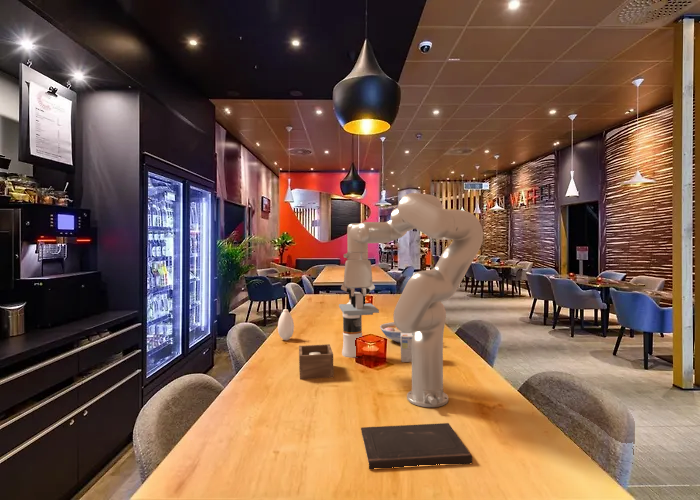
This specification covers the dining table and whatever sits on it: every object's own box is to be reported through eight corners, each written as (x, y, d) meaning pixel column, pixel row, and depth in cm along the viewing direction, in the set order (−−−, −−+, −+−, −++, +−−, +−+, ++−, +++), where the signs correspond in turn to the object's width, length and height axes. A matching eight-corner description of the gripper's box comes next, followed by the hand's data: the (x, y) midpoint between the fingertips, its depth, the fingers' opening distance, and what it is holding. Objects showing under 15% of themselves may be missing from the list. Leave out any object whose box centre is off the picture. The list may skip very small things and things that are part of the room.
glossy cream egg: (321, 370, 149) (321, 354, 148) (309, 371, 148) (309, 355, 148) (320, 366, 153) (320, 351, 153) (309, 367, 152) (308, 352, 152)
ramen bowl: (372, 337, 202) (372, 321, 202) (412, 334, 209) (412, 318, 209) (391, 350, 178) (391, 332, 178) (436, 345, 185) (436, 328, 185)
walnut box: (333, 379, 141) (333, 354, 141) (299, 381, 140) (299, 356, 139) (330, 367, 155) (329, 344, 155) (299, 368, 154) (298, 345, 153)
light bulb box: (426, 358, 166) (425, 332, 166) (427, 362, 159) (427, 336, 159) (400, 357, 167) (400, 332, 167) (400, 362, 160) (400, 336, 160)
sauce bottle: (297, 339, 200) (296, 303, 200) (286, 342, 194) (286, 306, 193) (285, 337, 205) (284, 302, 204) (274, 340, 198) (274, 304, 198)
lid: (378, 315, 140) (378, 295, 140) (343, 316, 138) (343, 296, 138) (370, 308, 155) (370, 290, 154) (339, 309, 153) (338, 291, 153)
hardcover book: (360, 436, 101) (360, 427, 101) (448, 431, 103) (448, 422, 103) (369, 472, 85) (368, 462, 85) (472, 466, 87) (472, 456, 87)
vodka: (347, 352, 176) (346, 285, 175) (366, 354, 172) (365, 285, 171) (338, 358, 167) (337, 287, 167) (358, 360, 164) (357, 288, 163)
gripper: (337, 257, 141) (337, 308, 141) (381, 257, 143) (381, 307, 144) (335, 256, 148) (335, 305, 149) (376, 256, 151) (377, 304, 151)
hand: (358, 306), depth 146 cm, fingers closed on lid, 2 cm apart
